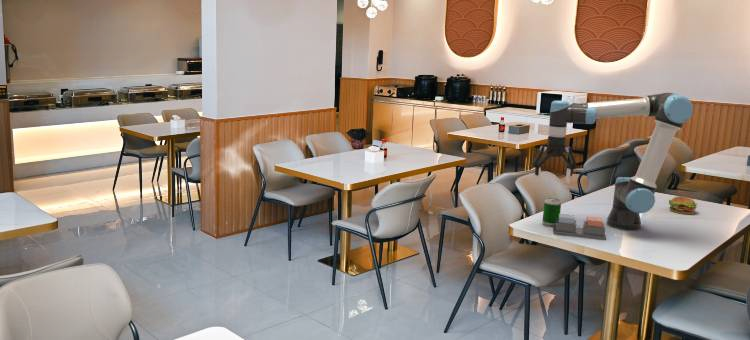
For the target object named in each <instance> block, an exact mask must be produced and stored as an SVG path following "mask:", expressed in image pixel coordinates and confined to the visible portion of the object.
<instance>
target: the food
mask: <svg viewBox="0 0 750 340" xmlns="http://www.w3.org/2000/svg"><path fill="white" fill-rule="evenodd" d="M668 204H669V210H670V212H673V213H675V212H676V214H680V213H682V215H693V214H695V212H696V210H697V207H698V203H696V201H694V199H692V198H691V197H688V196H679V195H678V196H675V197H673V198H672V199H668Z"/></svg>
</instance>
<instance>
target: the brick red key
mask: <svg viewBox="0 0 750 340" xmlns="http://www.w3.org/2000/svg"><path fill="white" fill-rule="evenodd" d="M585 221H586V224H587V226H594V227H603V223H604V219H603V218H602V217H595V216H586V220H585Z"/></svg>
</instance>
